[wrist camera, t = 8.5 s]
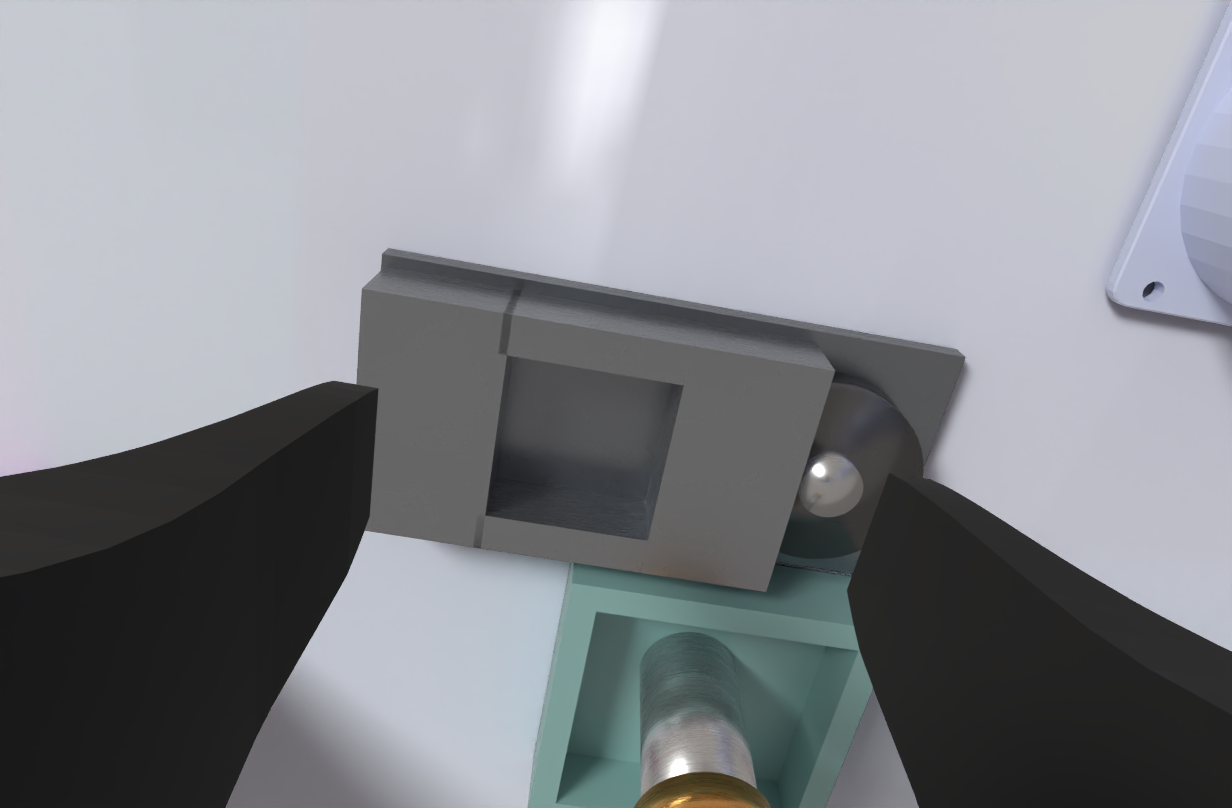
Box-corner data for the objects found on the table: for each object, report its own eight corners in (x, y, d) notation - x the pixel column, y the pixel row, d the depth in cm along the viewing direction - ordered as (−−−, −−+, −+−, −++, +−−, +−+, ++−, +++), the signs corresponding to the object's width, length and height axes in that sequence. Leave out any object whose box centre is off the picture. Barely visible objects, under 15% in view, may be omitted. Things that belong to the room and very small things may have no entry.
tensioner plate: (956, 349, 21) (998, 387, 19) (875, 566, 24) (903, 622, 22) (388, 248, 20) (358, 275, 18) (372, 487, 23) (343, 537, 21)
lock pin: (729, 611, 24) (765, 807, 18) (757, 702, 26) (800, 916, 19) (615, 639, 25) (609, 839, 18) (648, 727, 26) (653, 944, 20)
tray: (870, 579, 24) (895, 631, 22) (791, 791, 28) (806, 854, 26) (576, 533, 24) (571, 583, 22) (533, 756, 27) (526, 818, 25)
